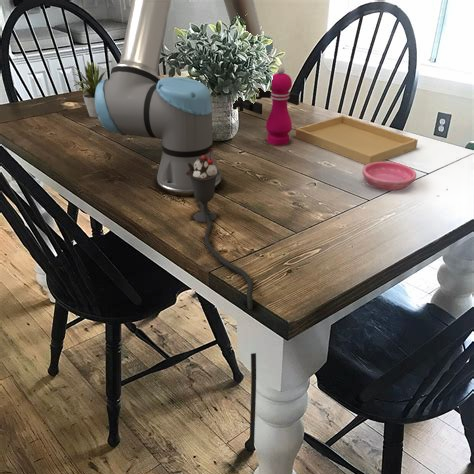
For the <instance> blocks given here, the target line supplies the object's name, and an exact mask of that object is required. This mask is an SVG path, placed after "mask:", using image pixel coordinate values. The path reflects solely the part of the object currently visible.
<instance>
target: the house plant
mask: <svg viewBox="0 0 474 474" xmlns="http://www.w3.org/2000/svg"><path fill="white" fill-rule="evenodd" d="M69 67H71V68H74V70H75V71H77V72H76V73H75V72H74V71H72V75H73V76H77V77H78V78H79V79H81V81H78V80H71V82H75V84H74V85H73V86H72V87H73V88H74V87H76V86H79V89H78V92H80V91H82V93H83V95H82V96H83V97H82V98H83V100H84V104H85V107H86V109H87V112H88V116H89V117H90V118H98V115H97V113H96V108H95V91H96V87H97V85H98V83H100V81H102V80H103V77H104V75H105V74H106V72H107V70H105V71H104V72H102V73H101V75H100V67H99V66H97V64H96V63H95V61H93V62H91V63H90V62H89V61H88V60H87V61H86V65H85V66H84V70H85V76H84V75H83V73H82V72H81V71H80V70H79V69H78V68H77V67H75V66H71V65H69ZM84 92H86V93H84Z"/></svg>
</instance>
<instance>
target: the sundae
mask: <svg viewBox="0 0 474 474" xmlns="http://www.w3.org/2000/svg"><path fill="white" fill-rule="evenodd" d="M210 150H213V151H214V150H215V148H214V147H213V148H210ZM211 152H212V151H211ZM211 152H210V154H211ZM208 153H209V152H208ZM208 153H207V154H208ZM207 154H206V155H207ZM206 155H203V156H202V158H200V159H198V160H197V161H196V162H195V163H194V167H193V166H192V164H191V163H187V164H188V166H189V168H190V169H189V170H188V172H187V173H186V175H188V176H190V178H191V181H192V186H193V192H194V195H195V196H194V198H195V199H196V200H197V202H198V201H200V202H201V203H202V210H200V211H198V212H196V213H194V215H193V219H194V221H196V222H199V223H207V220H206V217H205V216H206V215H207V214H208V215H209V216H210V218H211V222H213V221H215V220H216V219H217V216H218V215H217V214H216V213H215V212H213V211H209V207H208V203H209V202H210V201H211V200H212V199H213V198H214V196H215V191H216V190H215V182H216V177H217V176H218V175H220V173H221V171H220V172H219V170H220V169H219V170H218V169H217V168H216V167H215V165H214V164H213V160H212V159H211V158H210V159H207V156H206ZM209 157H210V156H209Z"/></svg>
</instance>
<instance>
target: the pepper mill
mask: <svg viewBox="0 0 474 474" xmlns="http://www.w3.org/2000/svg"><path fill="white" fill-rule="evenodd" d="M285 71H286V70H285V68H284V67H283V66H280V67H278V68H277V73H274V74H273V75H272V76H273V80H272V86H271V90H272V92H271V98H270V99H271V101H272V103H271V110H270V113H269V115H268V116H267V119H266V123H265V130H266V132H267V133H268V134H267V135H266V142H267V143H268V144H269V145H272V146H286V145H288V144H289V143H290V135H289V134H290V132H291V131H292V129H293V125H292V119H291V116H290V113H289V109H288V102H287V101H288V99H289V94H290V93H289V92H290V90H291V89H292V87H293V81H292V78H291V76H290V75H288V74H287V73H285Z"/></svg>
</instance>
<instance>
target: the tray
mask: <svg viewBox="0 0 474 474" xmlns="http://www.w3.org/2000/svg"><path fill="white" fill-rule="evenodd" d="M294 137H295V138H296V139H299V140H302V141H304V142H306V143H309V144H312V145H314V146H316V147H320V148H322V149H325V150H327V151H330V152H333V153H335V154H337V155H340V156H343V157H345V158H348V159H351V160H353V161H355V162H358V163H361V164H363V165H365V166H366V165H367V164H370V163H374V162H385V161H386V160H389V159H391V158H395V157H397V156H400V155H403V154H405V153H408V152H411V151H414V150H417V147H418V142H419V139H416V138H414V137H410V136H408V135H405V134H402V133H398V132H395V131H392V130H388V129H385V128H382V127H379V126H376V125H373V124H370V123H367V122H364V121H360V120H358V119H356V118H355V119H354V118H351V117H349V116H346V115H339V116H336V117H332V118H328V119H325V120H321V121H318V122H315V123H314V122H313V123H311V124H307V125H303V126H300V127H297V128H295V130H294Z"/></svg>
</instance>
